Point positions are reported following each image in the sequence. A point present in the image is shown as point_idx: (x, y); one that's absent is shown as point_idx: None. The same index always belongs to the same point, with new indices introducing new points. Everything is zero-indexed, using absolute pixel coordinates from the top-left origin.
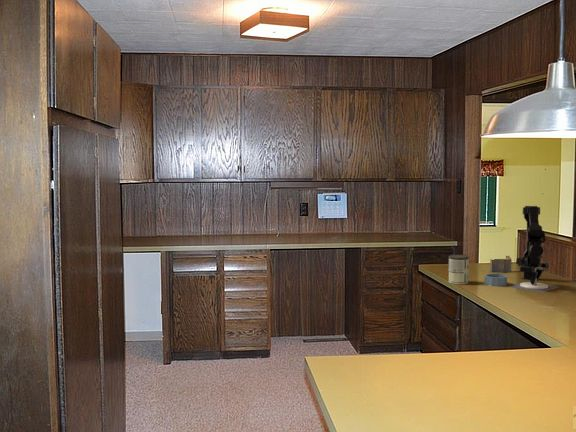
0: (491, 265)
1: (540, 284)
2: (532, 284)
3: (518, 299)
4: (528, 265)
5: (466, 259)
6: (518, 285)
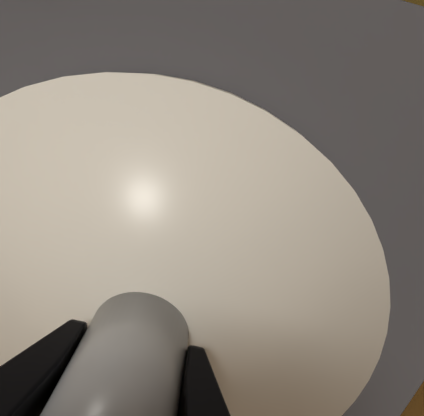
0: None
1: (237, 401)
2: (88, 327)
3: None
4: None
5: None
6: (92, 32)
